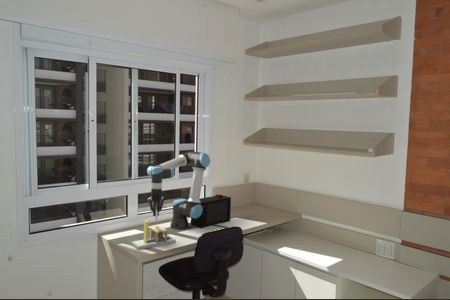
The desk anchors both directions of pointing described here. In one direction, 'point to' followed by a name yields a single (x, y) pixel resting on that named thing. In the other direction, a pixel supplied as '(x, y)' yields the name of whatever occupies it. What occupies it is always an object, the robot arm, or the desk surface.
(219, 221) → the speaker
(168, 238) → the deck
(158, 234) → the block
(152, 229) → the tunnel
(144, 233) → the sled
